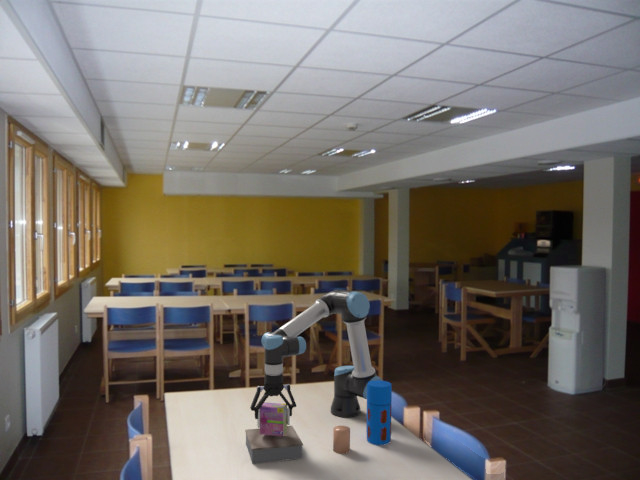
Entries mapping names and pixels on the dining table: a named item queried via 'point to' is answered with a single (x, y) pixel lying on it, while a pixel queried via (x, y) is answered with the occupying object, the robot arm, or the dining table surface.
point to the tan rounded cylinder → (341, 439)
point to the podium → (273, 446)
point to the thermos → (379, 412)
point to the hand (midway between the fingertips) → (273, 425)
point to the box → (273, 419)
